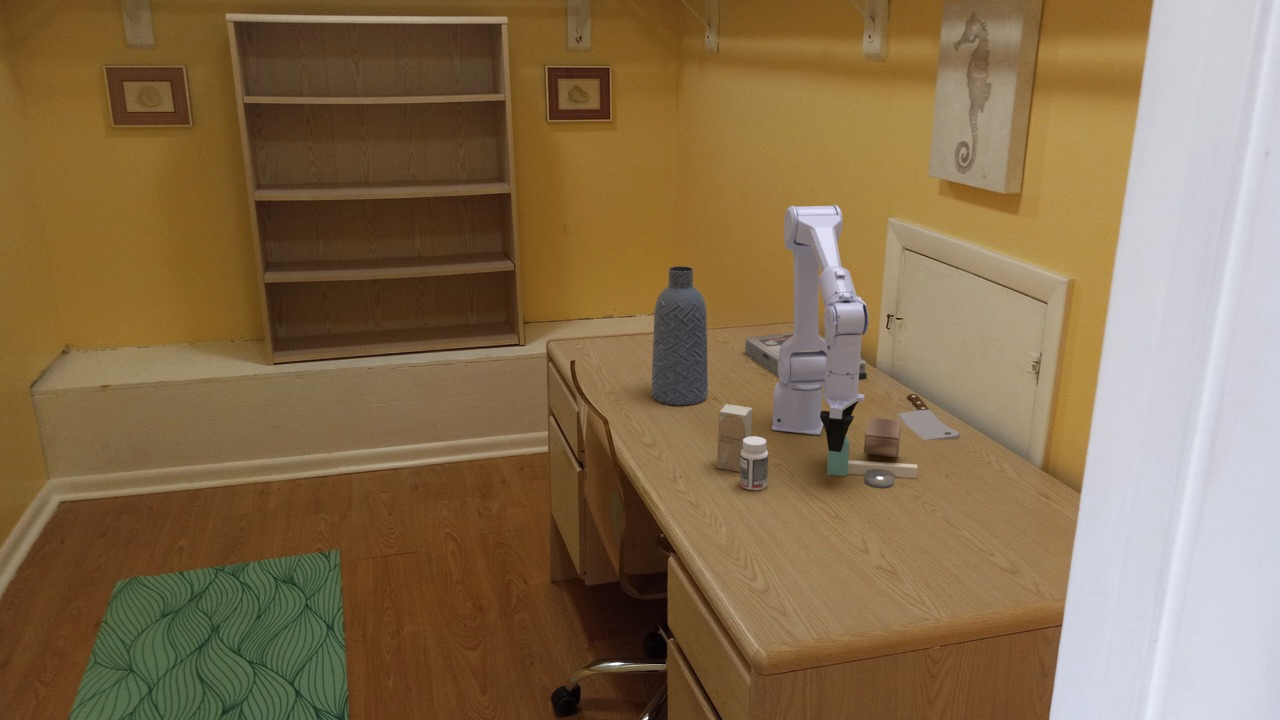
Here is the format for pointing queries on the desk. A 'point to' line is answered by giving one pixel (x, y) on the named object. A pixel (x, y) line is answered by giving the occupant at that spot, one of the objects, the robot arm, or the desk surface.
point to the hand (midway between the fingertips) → (837, 442)
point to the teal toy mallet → (864, 465)
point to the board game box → (777, 352)
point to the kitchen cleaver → (926, 422)
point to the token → (879, 478)
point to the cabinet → (882, 437)
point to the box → (732, 435)
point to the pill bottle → (754, 463)
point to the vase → (680, 342)
